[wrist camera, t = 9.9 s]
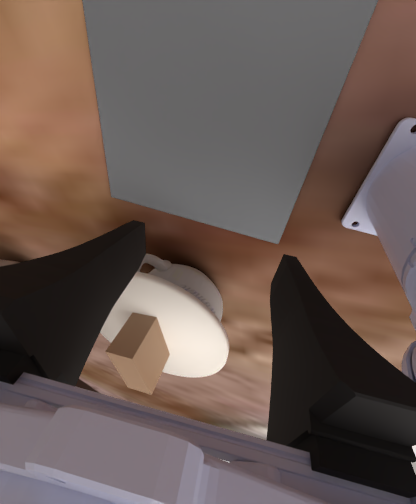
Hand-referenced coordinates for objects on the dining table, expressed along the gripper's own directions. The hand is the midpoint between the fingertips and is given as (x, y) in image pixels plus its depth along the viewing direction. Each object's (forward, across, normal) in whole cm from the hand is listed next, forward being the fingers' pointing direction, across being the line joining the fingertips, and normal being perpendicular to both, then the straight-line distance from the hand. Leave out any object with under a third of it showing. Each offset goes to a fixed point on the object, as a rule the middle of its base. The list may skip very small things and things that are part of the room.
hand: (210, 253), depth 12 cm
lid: (+3, +4, +14) cm, 15 cm away
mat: (+11, +3, -4) cm, 12 cm away
